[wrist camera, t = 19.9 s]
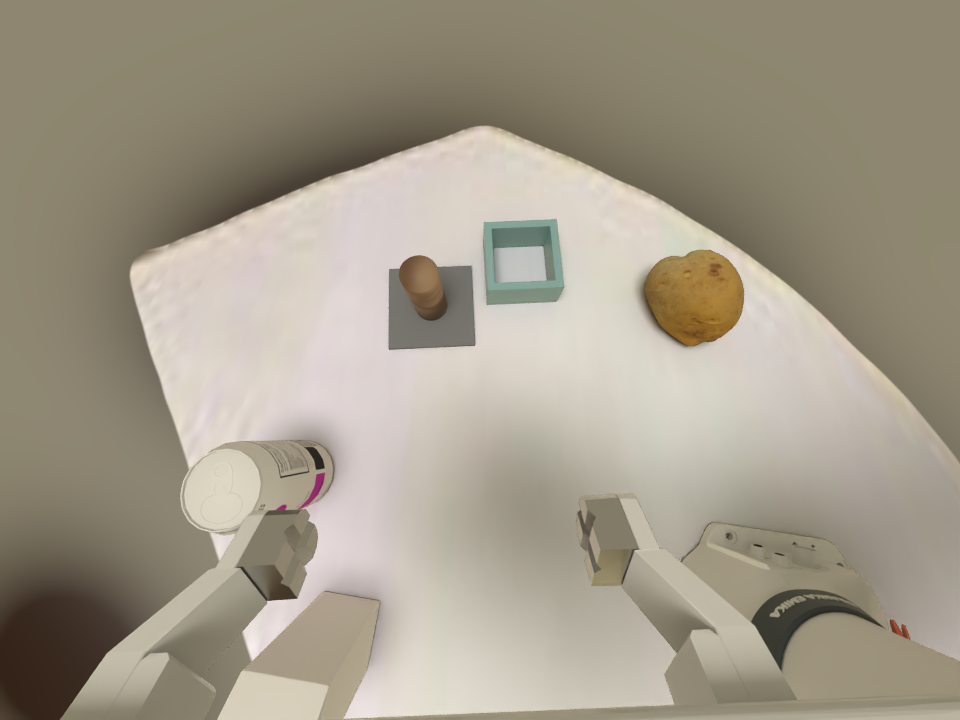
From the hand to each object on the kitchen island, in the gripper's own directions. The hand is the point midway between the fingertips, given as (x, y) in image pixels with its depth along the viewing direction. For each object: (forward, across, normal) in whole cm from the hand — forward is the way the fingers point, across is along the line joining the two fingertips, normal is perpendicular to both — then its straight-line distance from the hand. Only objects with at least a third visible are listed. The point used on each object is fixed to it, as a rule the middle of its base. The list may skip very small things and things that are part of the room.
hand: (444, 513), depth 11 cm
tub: (+44, -7, +8) cm, 45 cm away
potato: (+40, -29, +13) cm, 51 cm away
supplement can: (+25, +22, +26) cm, 43 cm away
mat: (+40, +6, +11) cm, 42 cm away
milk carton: (+12, +16, +39) cm, 44 cm away
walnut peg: (+40, +6, +11) cm, 42 cm away
